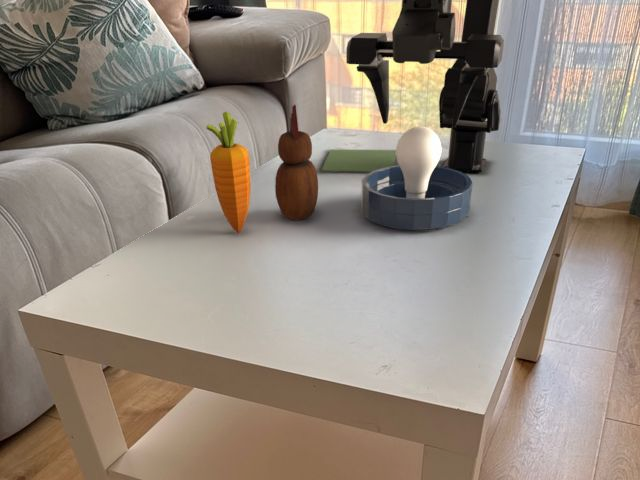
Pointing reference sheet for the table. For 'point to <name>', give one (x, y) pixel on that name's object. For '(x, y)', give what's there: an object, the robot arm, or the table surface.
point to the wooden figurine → (296, 173)
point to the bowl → (423, 213)
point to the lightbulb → (418, 159)
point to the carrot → (231, 173)
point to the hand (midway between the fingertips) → (419, 124)
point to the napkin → (358, 160)
